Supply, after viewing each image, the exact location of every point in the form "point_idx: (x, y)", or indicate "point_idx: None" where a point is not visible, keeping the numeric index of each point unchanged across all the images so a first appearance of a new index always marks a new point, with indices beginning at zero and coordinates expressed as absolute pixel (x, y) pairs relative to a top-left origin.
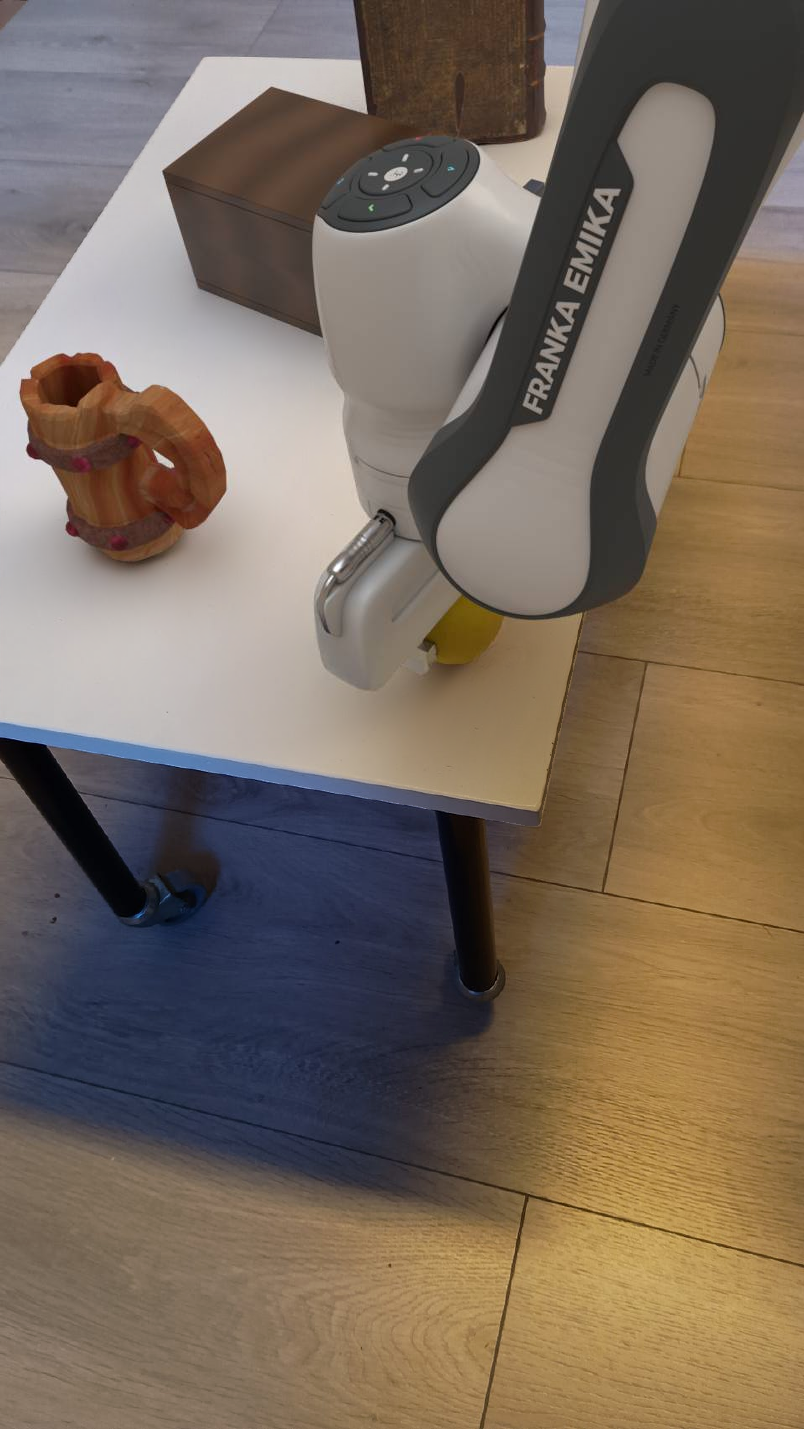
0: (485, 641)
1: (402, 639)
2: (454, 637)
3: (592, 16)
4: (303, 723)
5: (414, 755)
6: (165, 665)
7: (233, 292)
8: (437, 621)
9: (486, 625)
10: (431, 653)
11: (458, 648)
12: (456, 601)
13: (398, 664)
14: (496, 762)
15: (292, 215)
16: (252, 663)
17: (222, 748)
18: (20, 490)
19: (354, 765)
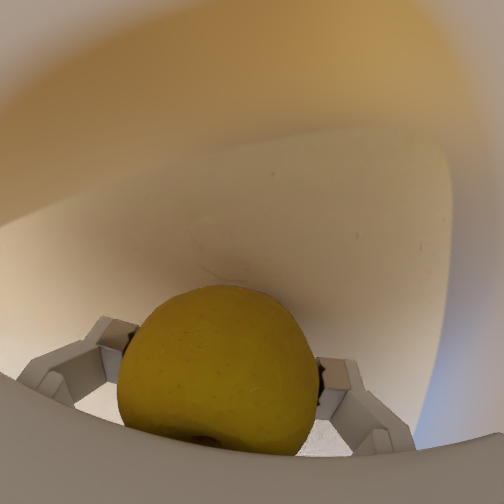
0: (270, 311)
1: (478, 496)
2: (310, 376)
3: None
4: (385, 398)
5: (412, 292)
6: None
7: None
8: (370, 464)
9: (260, 340)
10: (337, 380)
11: (307, 347)
12: (266, 437)
13: (481, 451)
14: (402, 187)
15: None
16: (326, 446)
17: (413, 424)
18: None
19: (429, 341)
